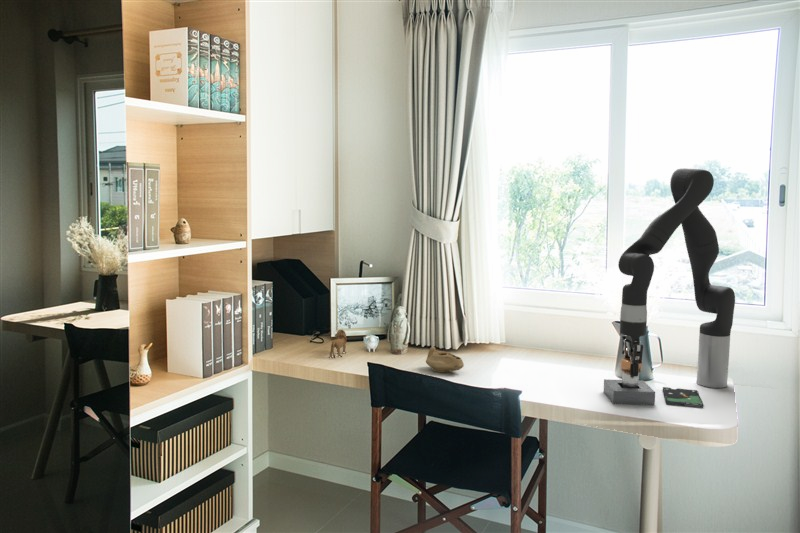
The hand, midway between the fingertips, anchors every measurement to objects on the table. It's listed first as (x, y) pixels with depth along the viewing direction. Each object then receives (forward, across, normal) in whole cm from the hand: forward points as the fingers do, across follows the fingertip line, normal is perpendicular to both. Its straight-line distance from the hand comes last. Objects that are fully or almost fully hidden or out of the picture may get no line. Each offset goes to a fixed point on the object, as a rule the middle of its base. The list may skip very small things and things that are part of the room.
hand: (630, 372), depth 196 cm
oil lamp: (+9, +29, +56) cm, 64 cm away
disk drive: (+10, +1, -16) cm, 19 cm away
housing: (+9, 0, 0) cm, 9 cm away
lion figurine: (+9, +48, +99) cm, 110 cm away
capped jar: (+6, 0, 0) cm, 6 cm away
